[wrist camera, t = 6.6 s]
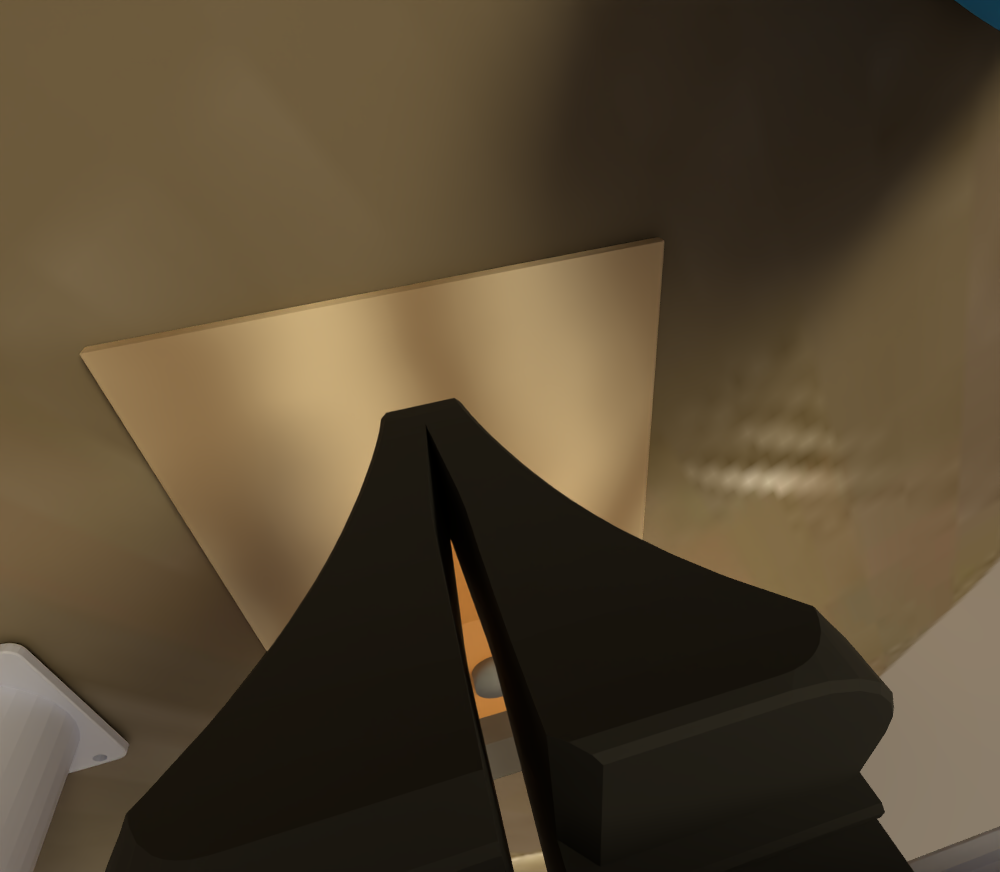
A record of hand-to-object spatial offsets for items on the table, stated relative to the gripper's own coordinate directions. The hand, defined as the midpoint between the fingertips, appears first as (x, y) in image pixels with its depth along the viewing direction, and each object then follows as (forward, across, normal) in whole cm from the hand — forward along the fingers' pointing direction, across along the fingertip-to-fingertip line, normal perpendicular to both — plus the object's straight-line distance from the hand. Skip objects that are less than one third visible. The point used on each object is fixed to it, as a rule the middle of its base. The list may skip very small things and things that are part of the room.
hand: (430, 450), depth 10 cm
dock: (+7, 0, +9) cm, 12 cm away
